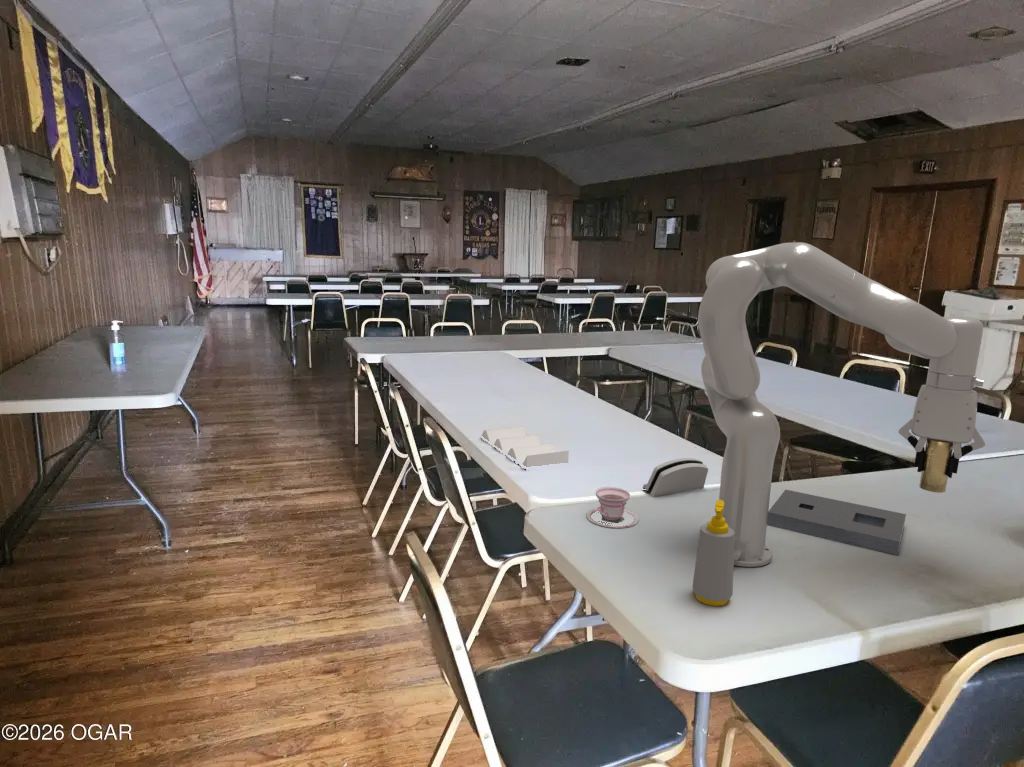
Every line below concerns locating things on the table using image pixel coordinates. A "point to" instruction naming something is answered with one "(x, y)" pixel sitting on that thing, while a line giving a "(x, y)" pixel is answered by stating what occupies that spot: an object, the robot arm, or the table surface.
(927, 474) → the tan cylinder
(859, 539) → the plate
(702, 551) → the soap bottle
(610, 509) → the teacup
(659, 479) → the napkin holder
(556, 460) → the white zigzag rack
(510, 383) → the table surface
